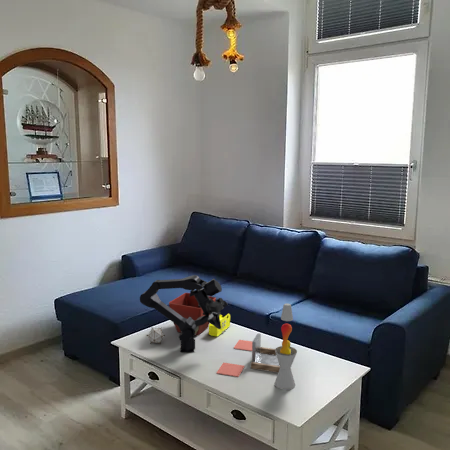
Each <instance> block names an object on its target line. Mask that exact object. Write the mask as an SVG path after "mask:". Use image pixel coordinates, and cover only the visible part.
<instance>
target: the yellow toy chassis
mask: <svg viewBox="0 0 450 450" xmlns="http://www.w3.org/2000/svg"><path fill="white" fill-rule="evenodd" d="M219 319H220V324H221V329H218V328H216V327H215V326H214V325H212V324H211V323H209V326H208V336H209V335H210V336H211V337H219V336H221V334H224V332H227V329H228V328H229V327H231V314H230V313H227V314H226V315H222V314H220V315H219Z"/></svg>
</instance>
